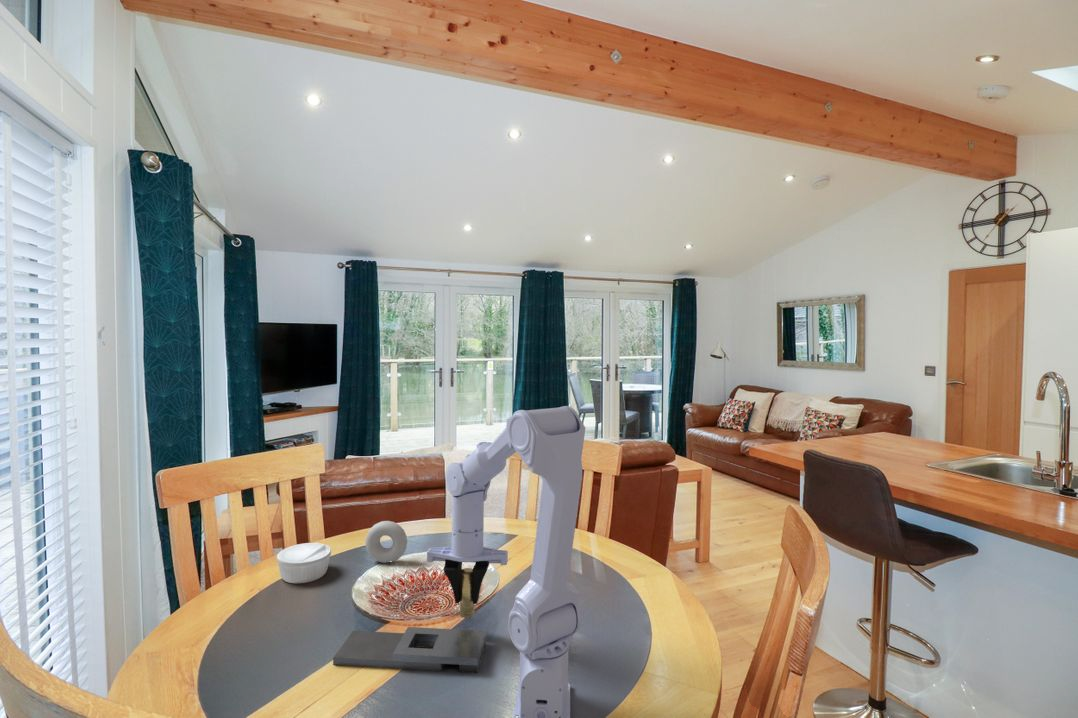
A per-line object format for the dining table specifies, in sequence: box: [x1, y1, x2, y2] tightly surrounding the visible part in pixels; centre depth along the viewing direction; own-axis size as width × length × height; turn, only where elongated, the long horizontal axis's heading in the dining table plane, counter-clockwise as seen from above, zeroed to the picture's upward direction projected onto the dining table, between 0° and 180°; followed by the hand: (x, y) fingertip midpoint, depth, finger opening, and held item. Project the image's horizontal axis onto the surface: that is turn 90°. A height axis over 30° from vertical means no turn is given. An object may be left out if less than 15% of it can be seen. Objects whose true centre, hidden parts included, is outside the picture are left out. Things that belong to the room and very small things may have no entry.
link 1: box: [332, 630, 444, 672], centre depth 90 cm, size 8×18×1 cm, turn 86°
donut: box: [365, 520, 408, 564], centre depth 126 cm, size 10×4×10 cm, turn 87°
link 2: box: [393, 626, 487, 674], centre depth 90 cm, size 8×14×2 cm, turn 86°
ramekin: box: [276, 542, 332, 584], centre depth 119 cm, size 11×11×5 cm
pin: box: [459, 567, 475, 619], centre depth 96 cm, size 3×3×8 cm
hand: (467, 600), depth 96 cm, fingers closed on pin, 3 cm apart
